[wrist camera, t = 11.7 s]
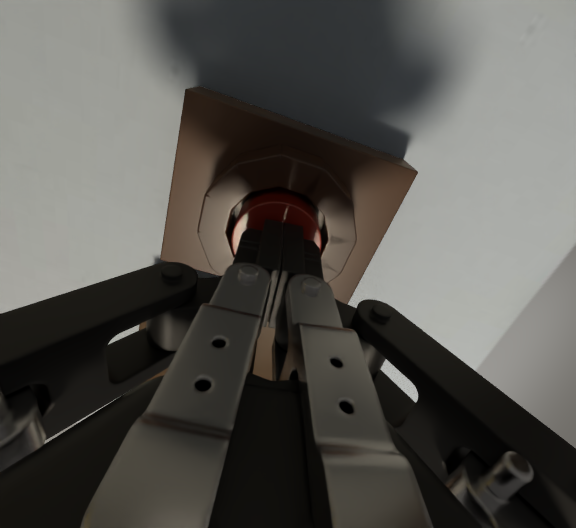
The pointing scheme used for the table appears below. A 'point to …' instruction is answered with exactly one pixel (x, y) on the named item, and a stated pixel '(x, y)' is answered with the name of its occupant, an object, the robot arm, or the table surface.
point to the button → (277, 214)
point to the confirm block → (276, 185)
